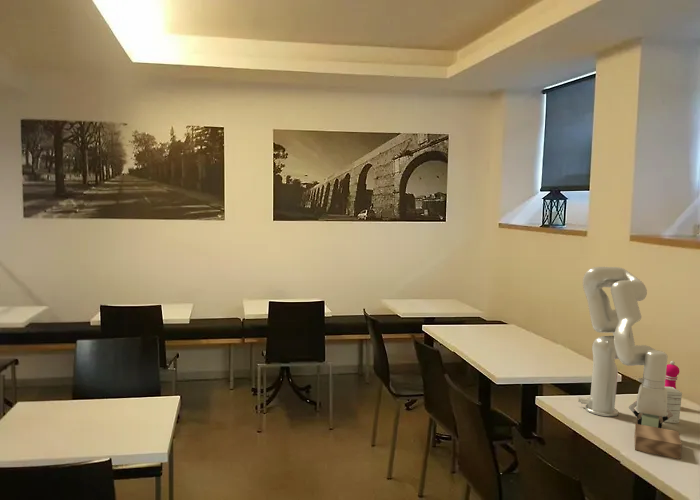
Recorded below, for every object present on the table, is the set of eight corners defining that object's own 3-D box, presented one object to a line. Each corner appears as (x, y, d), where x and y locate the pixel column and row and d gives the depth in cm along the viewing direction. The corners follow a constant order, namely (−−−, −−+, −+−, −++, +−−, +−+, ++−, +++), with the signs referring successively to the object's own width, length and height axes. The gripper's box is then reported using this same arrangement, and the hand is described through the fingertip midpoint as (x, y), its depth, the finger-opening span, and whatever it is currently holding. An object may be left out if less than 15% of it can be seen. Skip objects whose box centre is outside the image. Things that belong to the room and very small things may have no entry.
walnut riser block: (634, 450, 213) (636, 436, 212) (634, 436, 226) (635, 423, 225) (680, 459, 207) (681, 444, 207) (676, 444, 220) (678, 431, 220)
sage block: (640, 434, 229) (642, 416, 228) (640, 429, 234) (642, 411, 233) (657, 437, 226) (658, 419, 226) (656, 432, 231) (658, 414, 231)
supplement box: (652, 415, 251) (655, 385, 250) (670, 416, 251) (673, 386, 250) (660, 422, 244) (663, 391, 243) (679, 423, 243) (682, 392, 242)
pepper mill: (680, 409, 261) (685, 363, 259) (663, 408, 261) (668, 362, 259) (672, 403, 268) (676, 359, 267) (655, 402, 268) (660, 358, 267)
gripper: (628, 382, 228) (624, 429, 230) (680, 390, 222) (675, 438, 223) (628, 377, 235) (624, 422, 237) (678, 385, 228) (673, 432, 230)
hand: (648, 430), depth 230 cm, fingers closed on sage block, 5 cm apart
